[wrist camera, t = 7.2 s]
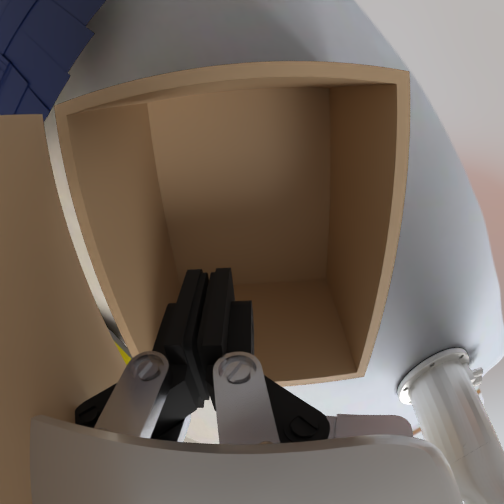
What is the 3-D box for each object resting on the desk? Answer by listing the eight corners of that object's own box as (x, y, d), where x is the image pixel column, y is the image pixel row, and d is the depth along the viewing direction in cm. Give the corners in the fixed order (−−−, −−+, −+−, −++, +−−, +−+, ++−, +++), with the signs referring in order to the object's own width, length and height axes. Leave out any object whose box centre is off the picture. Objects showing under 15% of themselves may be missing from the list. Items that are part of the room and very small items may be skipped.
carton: (334, 80, 18) (409, 71, 8) (330, 279, 26) (364, 376, 17) (141, 97, 18) (54, 105, 9) (177, 289, 27) (148, 386, 17)
